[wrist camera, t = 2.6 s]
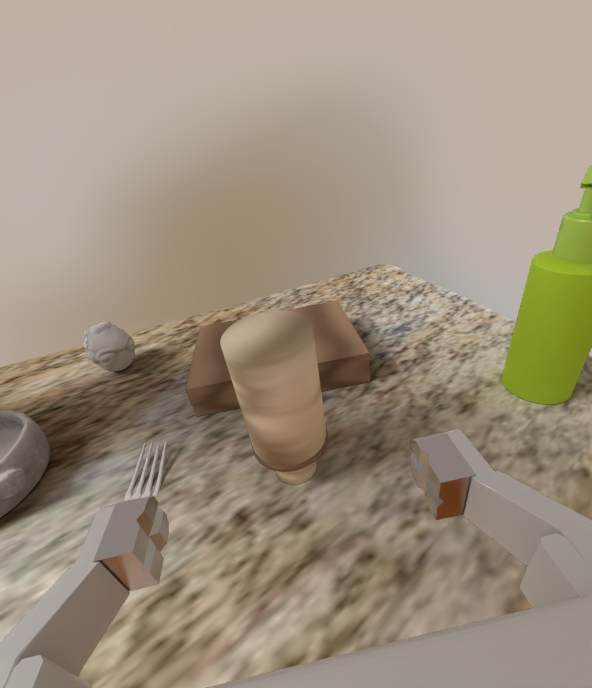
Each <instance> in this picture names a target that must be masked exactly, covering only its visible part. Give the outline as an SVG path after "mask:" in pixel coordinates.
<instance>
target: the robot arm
mask: <svg viewBox="0 0 592 688" xmlns="http://www.w3.org/2000/svg"><path fill="white" fill-rule="evenodd" d="M410 448H411V449H412V451H413V453H412V454H411V456H410V467H411V471H412V474H413V477H414V479H415V481H416V483H417V485H418V487H420V488H421V489H423V490H424V491H426V492H425V501H426V503H427V504H428V506H429V508H430V510H431V512H432V514H433V516H434V518H435V520H439V519H444V518H449V517H454V516H459V515H464V517H465V518H466V519H468V520H469V521H470V522H472V523H473V524H474V525H475V526H477V527H478V528H479V529H480V530H482V531H483V532H484V533H486V534H487V535H488V536H489V537H491V538H492V539H493V540H494V541H496V542H497V543H498V544H500V545H501V546H502V547H503V548H505V549H506V550H507V551H508V552H510V553H511V554H512V555H513V556H515V557H516V558H517V559H519V560H520V561H521V562H522V563H524V564H525V565H526V566H527V569H526V571H525V574H524V576H523V578H522V580H521V583H520V589H521V590H522V592H523V594H524V595H525V597H526V598H527V600H528V602H529V603H530V605H531V607H532V608H531V609H527V610H523V611H519V612H515V613H511V614H507V615H503V616H498V617H494V618H490V619H486V620H482V621H478V622H474V623H470V624H466V625H461V626H457V627H453V628H449V629H445V630H441V631H437V632H433V633H429V634H425V635H420V636H416V637H412V638H408V639H404V640H400V641H396V642H392V643H388V644H383V645H379V646H375V647H371V648H367V649H363V650H359V651H355V652H351V653H346V654H342V655H338V656H334V657H330V658H326V659H322V660H318V661H314V662H310V663H305V664H301V665H297V666H293V667H289V668H285V669H281V670H277V671H273V672H268V673H264V674H260V675H256V676H252V677H248V678H244V679H240V680H236V681H231V682H227V683H223V684H219V685H215V686H211V687H207V688H592V520H590V519H589V518H587V517H585V516H583V515H581V514H579V513H577V512H576V511H574V510H572V509H570V508H568V507H566V506H564V505H562V504H561V503H559V502H557V501H555V500H553V499H551V498H549V497H547V496H546V495H544V494H542V493H540V492H538V491H536V490H534V489H533V488H531V487H529V486H527V485H525V484H523V483H521V482H519V481H518V480H516V479H514V478H512V477H510V476H508V475H506V474H505V473H503V472H501V471H496V472H494V470H493V469H492V468H491V467H490V465H489V464H488V463H487V461H486V460H485V459H484V458H483V456H482V455H481V454H480V453H479V451H478V450H477V449H476V448H475V446H474V445H473V444H472V443H471V441H470V440H469V439H468V438H467V436H466V435H465V434H464V432H463V431H461V430H460V429H455V430H450V431H446V432H440V433H435V434H431V435H427V436H423V437H418V438H414V439H412V440H411V443H410ZM157 506H158V501H157V500H156V499H155V497H149V498H143V499H138V500H133V501H128V502H123V503H118V504H113V505H108V506H104V507H101V508H100V509H99V510H98V512H97V513H96V515H95V518H94V520H93V522H92V525H91V527H90V530H89V532H88V535H87V537H86V539H85V542H84V544H83V547H82V549H81V551H80V554H79V556H78V559H77V561H76V564H75V566H74V567H71V568H68V570H67V571H66V572H65V573H64V574H63V575H62V576H61V577H60V578H59V579H58V580H57V582H56V583H55V584H54V585H53V586H52V587H51V588H50V589H49V590H48V591H47V592H46V594H45V595H44V596H43V597H42V598H41V599H40V600H39V601H38V602H37V603H36V604H35V606H34V607H33V608H32V609H31V610H30V611H29V612H28V613H27V614H26V615H25V616H24V618H23V619H22V620H21V621H20V622H19V623H18V624H17V625H16V626H15V627H14V628H13V630H12V631H11V632H10V633H9V634H8V635H7V636H6V637H5V638H4V639H3V640H2V642H1V643H0V688H92V685H91V684H89V683H88V682H86V681H84V680H82V679H81V678H79V677H77V676H78V674H79V673H80V671H81V670H82V668H83V667H84V665H85V663H86V662H87V660H88V659H89V657H90V656H91V654H92V652H93V651H94V649H95V648H96V646H97V644H98V643H99V641H100V640H101V638H102V637H103V635H104V633H105V632H106V630H107V629H108V627H109V626H110V624H111V622H112V621H113V619H114V618H115V616H116V614H117V613H118V611H119V610H120V608H121V607H122V605H123V603H124V602H125V600H126V599H127V597H128V596H129V594H130V592H129V591H133V590H137V589H141V588H145V587H148V586H152V585H156V584H159V581H160V576H161V571H162V566H163V561H164V558H163V556H162V554H161V550H162V549H163V548H164V546H165V545H166V544H167V540H168V535H169V522H168V519H167V515H166V514H165V512H164V511H163V510H160V509H158V508H157Z"/></svg>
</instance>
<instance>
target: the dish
mask: <svg viewBox="0 0 592 688" xmlns="http://www.w3.org/2000/svg"><path fill="white" fill-rule="evenodd" d="M49 458H50V446H49V443H48V440H47V438H46V436H45V434H44V433H43V431H42V430H41V428H40V427H39V426H38V425H37V424H36V423H35V422H34V421H33V420H32V419H31V418H30V417H29V416H27V415H26V414H24V413H21V412H18V411H10V410H0V518H1V517H2V516H4V515H5V514H6V513H8V512H9V511H10V510H11V509H13V508H14V507H15V506H16V505H17V504H18V503H20V502H21V501H22V500H23V499H24V498H25V497H26V496H27V495H28V494H29V493H30V491H31V490H32V489H33V488H34V487H35V485H36V484H37V482H38V481H39V480H40V478H41V477H42V475H43V473H44V472H45V470H46V467H47V465H48V462H49Z"/></svg>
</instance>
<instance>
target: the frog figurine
mask: <svg viewBox="0 0 592 688" xmlns="http://www.w3.org/2000/svg"><path fill="white" fill-rule="evenodd" d="M84 333H85V334H84V335H85V341H84V348H85V350H86V352H87V357H88V359H89V360H92V362H93V363H95V364H97V365H99V366H100V367H102V368H103V369H105V370H108V371H121V370H123V369H125V368H127V367H128V366H129V365H130V364H131V363H132V361H133V359H134V356H135V352H134V351H135V347H134V341H133V339H132V338H131V337H130V336H129V335H128V334H127V333H126V332H125V331H124V330H123V329H120V328H118V327H117V326H115V325H112V324H111V323H110V322H108V321H105V322H102V323H100V324H97V325H94V326H92V327H91V328H90V330H86V331H85V332H84Z"/></svg>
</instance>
